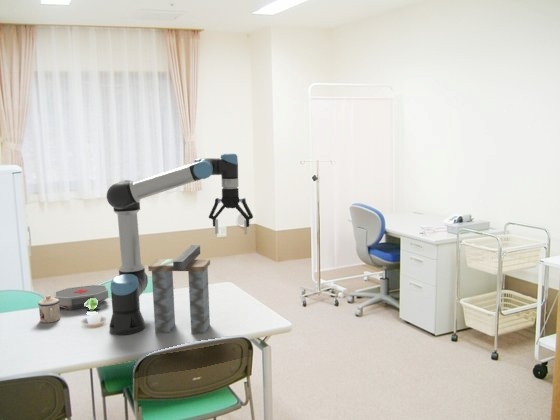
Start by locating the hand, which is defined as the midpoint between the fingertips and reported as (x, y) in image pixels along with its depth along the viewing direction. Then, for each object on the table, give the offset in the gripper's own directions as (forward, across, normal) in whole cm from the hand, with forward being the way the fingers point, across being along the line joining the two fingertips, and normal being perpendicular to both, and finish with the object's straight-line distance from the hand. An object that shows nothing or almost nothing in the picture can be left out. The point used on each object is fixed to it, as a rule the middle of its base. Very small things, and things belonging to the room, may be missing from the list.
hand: (231, 233), depth 248 cm
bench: (+40, -19, -18) cm, 47 cm away
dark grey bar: (+10, -16, -16) cm, 25 cm away
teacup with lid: (+40, -84, -12) cm, 94 cm away
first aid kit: (+40, -80, +10) cm, 90 cm away
